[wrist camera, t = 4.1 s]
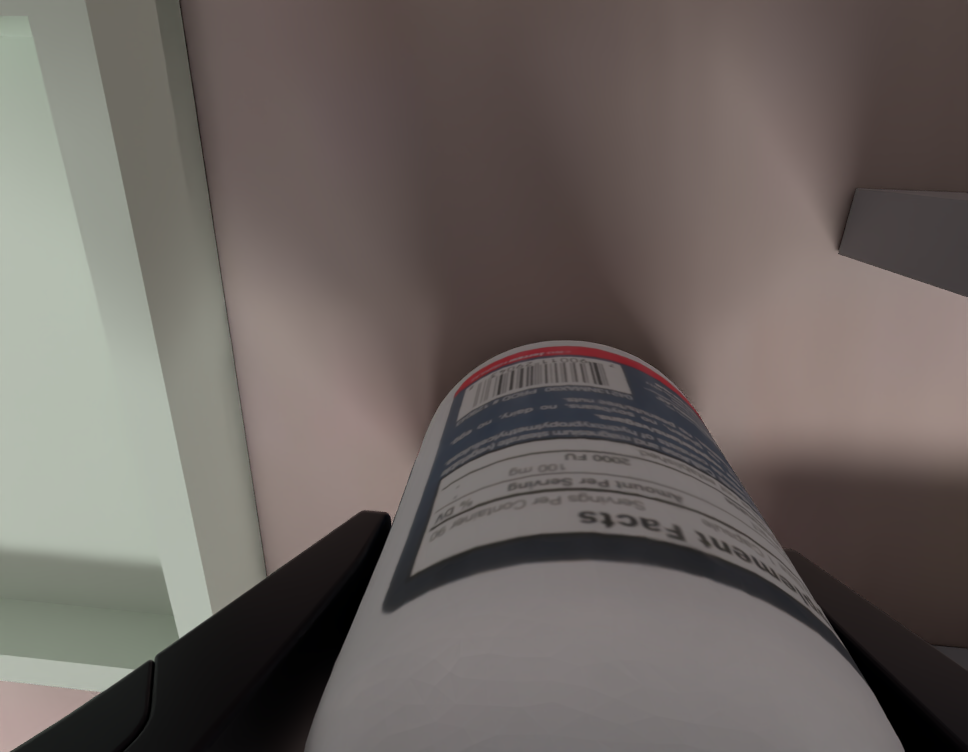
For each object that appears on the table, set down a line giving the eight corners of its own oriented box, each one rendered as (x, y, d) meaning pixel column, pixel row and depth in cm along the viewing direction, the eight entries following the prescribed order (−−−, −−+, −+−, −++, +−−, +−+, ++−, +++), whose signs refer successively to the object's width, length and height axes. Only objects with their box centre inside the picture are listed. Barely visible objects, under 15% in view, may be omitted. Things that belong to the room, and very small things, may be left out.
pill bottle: (593, 614, 12) (722, 1711, 3) (379, 495, 11) (-90, 1488, 3) (769, 431, 10) (2029, 1951, 1) (520, 274, 9) (344, 1414, 1)
